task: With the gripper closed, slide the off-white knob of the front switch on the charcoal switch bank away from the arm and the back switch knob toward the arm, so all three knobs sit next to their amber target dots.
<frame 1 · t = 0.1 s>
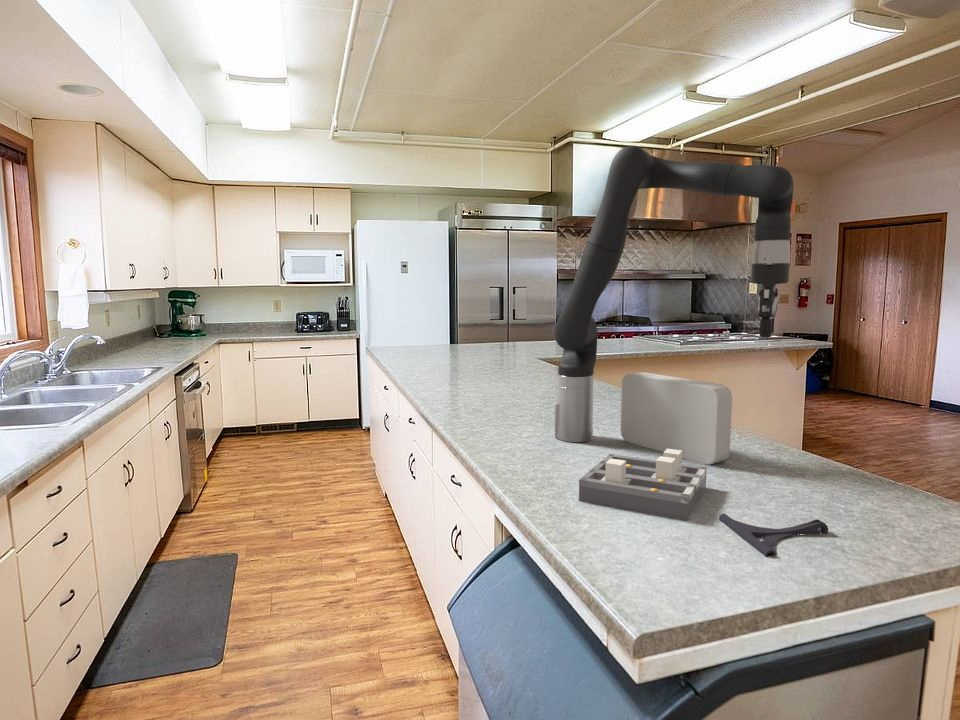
hand: (766, 335, 133), 29 cm above the counter, tool pointing down, fingers open, 8 cm apart
switch middle: (665, 470, 115), point 5 cm above the counter, slide at 8.0 cm
switch front: (615, 472, 114), point 5 cm above the counter, slide at 0.0 cm
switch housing: (644, 493, 118), on the counter
grey block: (670, 451, 147), on the counter
switch back: (672, 461, 120), point 5 cm above the counter, slide at 8.0 cm
bracket: (783, 539, 98), on the counter
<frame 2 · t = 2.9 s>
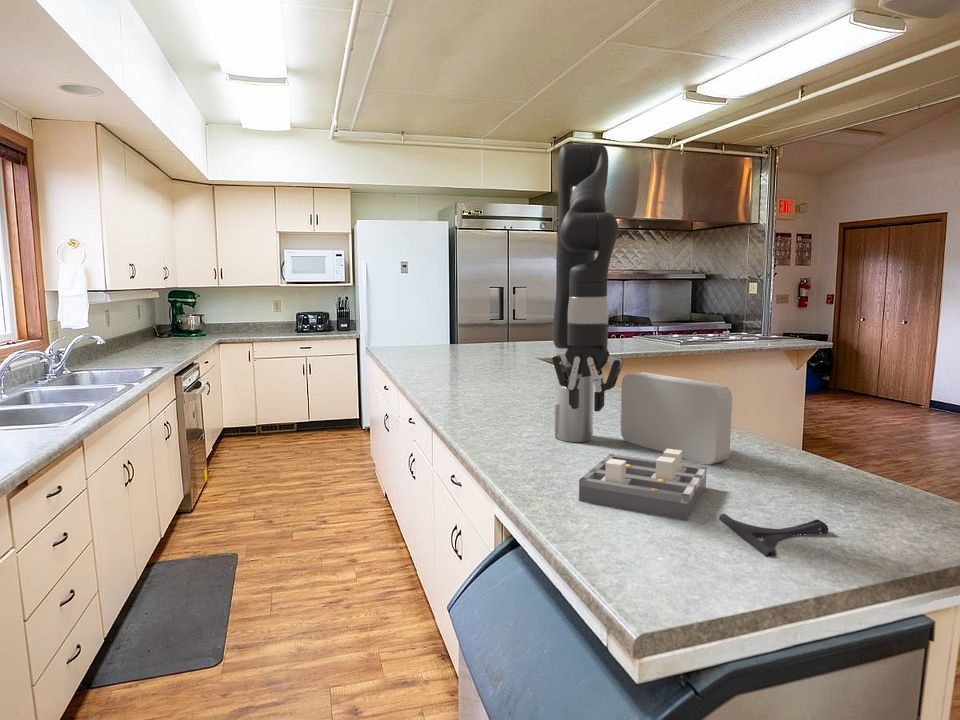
hand: (586, 409, 115), 17 cm above the counter, tool pointing down, fingers open, 4 cm apart
nothing on the counter moved.
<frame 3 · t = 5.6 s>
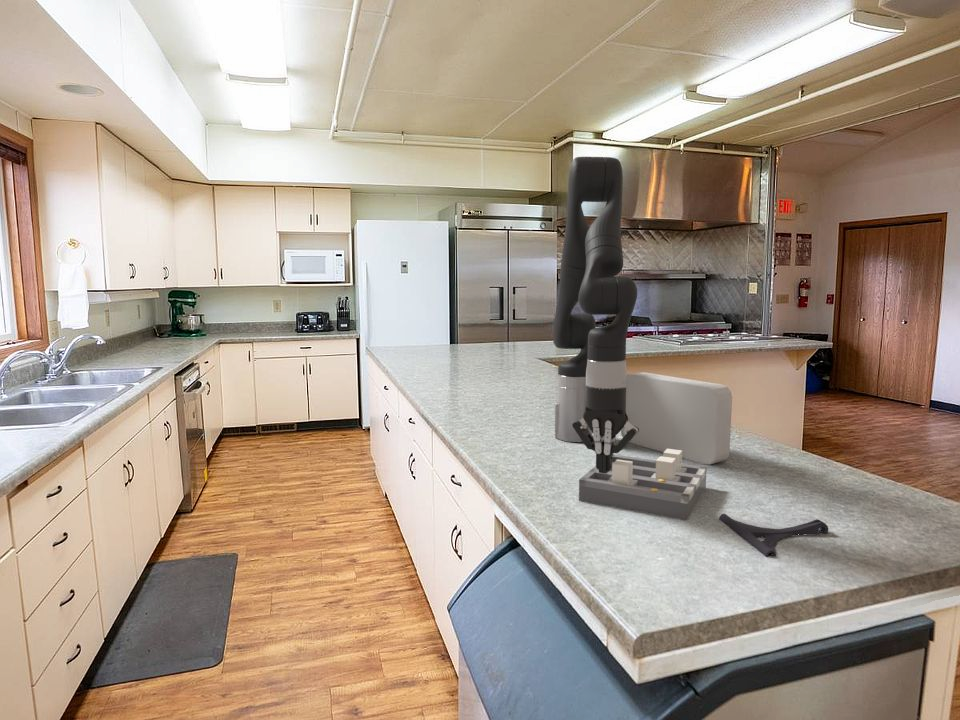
hand: (604, 471, 115), 5 cm above the counter, tool pointing down, fingers closed
switch front: (622, 473, 113), point 5 cm above the counter, slide at 1.3 cm, touching gripper
everything else where it was.
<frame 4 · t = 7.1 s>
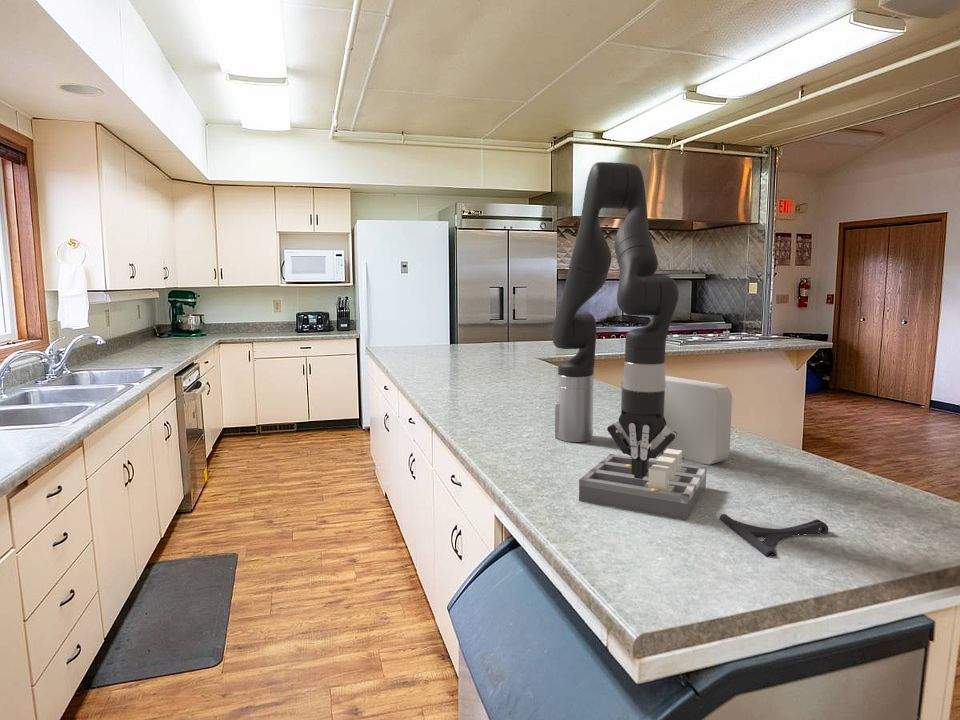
hand: (639, 477, 111), 5 cm above the counter, tool pointing down, fingers closed
switch front: (658, 479, 110), point 5 cm above the counter, slide at 8.1 cm, touching gripper
everything else where it was.
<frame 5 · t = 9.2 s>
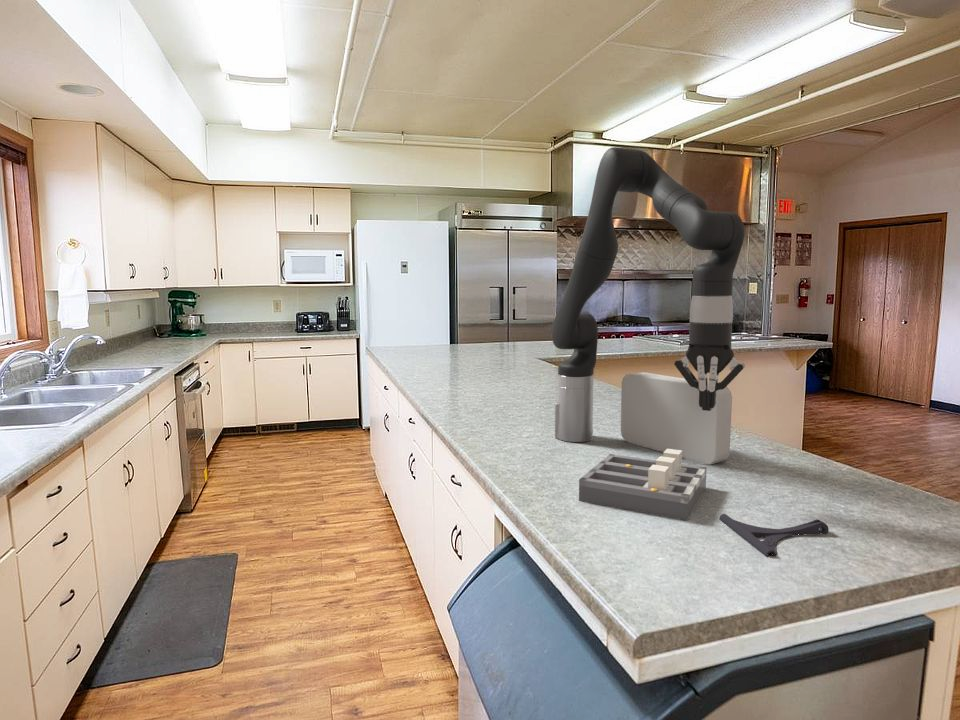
hand: (707, 409, 115), 17 cm above the counter, tool pointing down, fingers closed
switch front: (658, 479, 110), point 5 cm above the counter, slide at 8.1 cm
everything else where it was.
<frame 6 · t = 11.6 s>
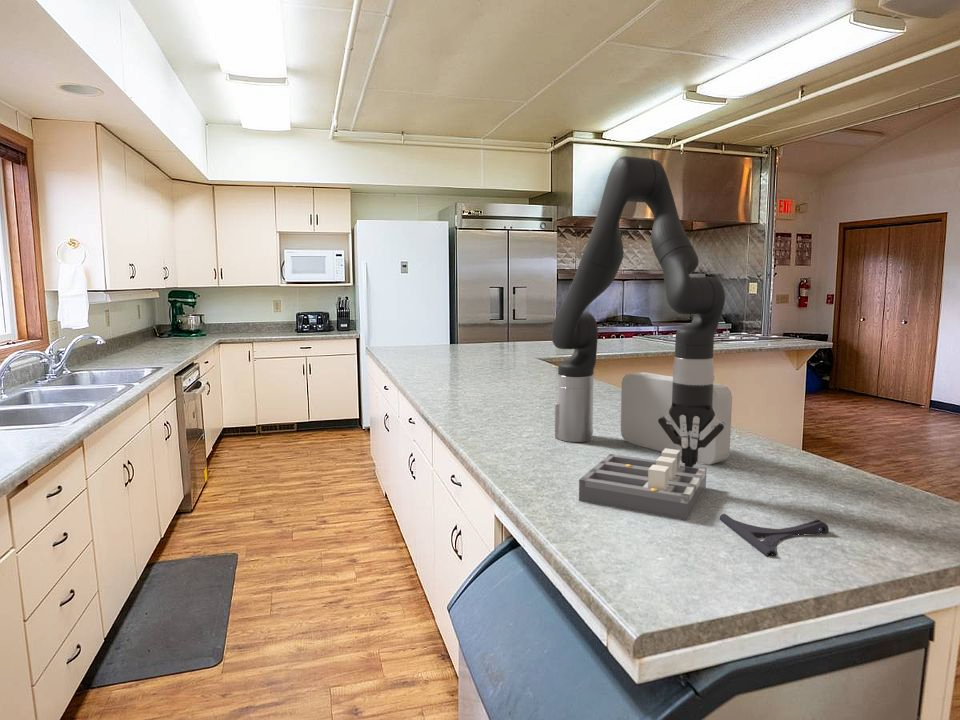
hand: (689, 465, 119), 5 cm above the counter, tool pointing down, fingers closed
switch back: (670, 461, 120), point 5 cm above the counter, slide at 7.6 cm, touching gripper
everything else where it was.
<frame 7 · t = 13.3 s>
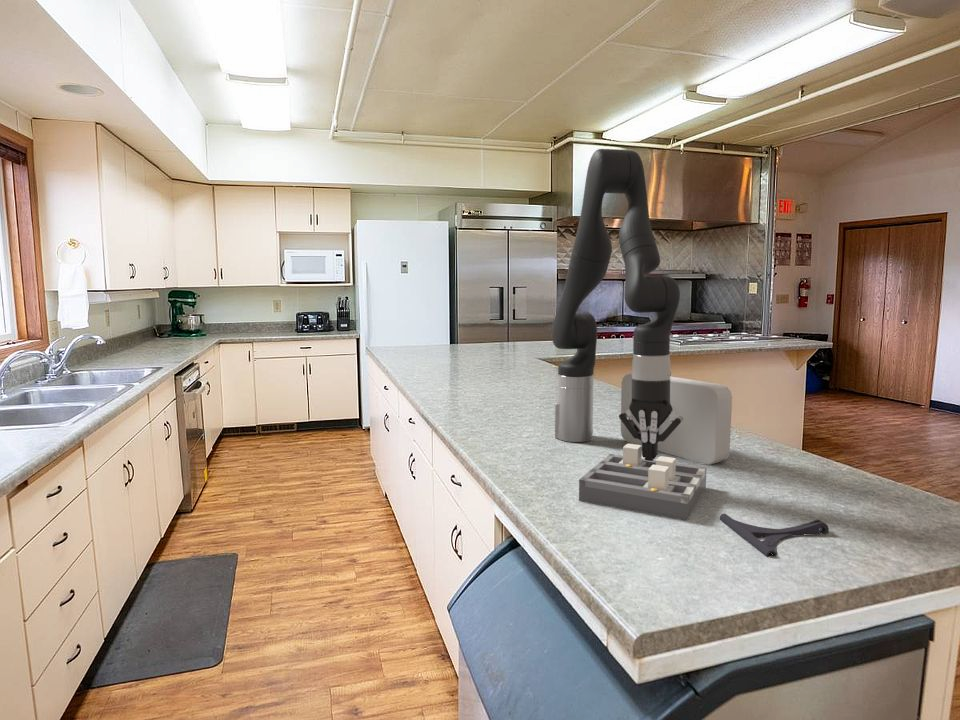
hand: (649, 459, 122), 5 cm above the counter, tool pointing down, fingers closed
switch back: (632, 456, 124), point 5 cm above the counter, slide at -0.2 cm, touching gripper
everything else where it was.
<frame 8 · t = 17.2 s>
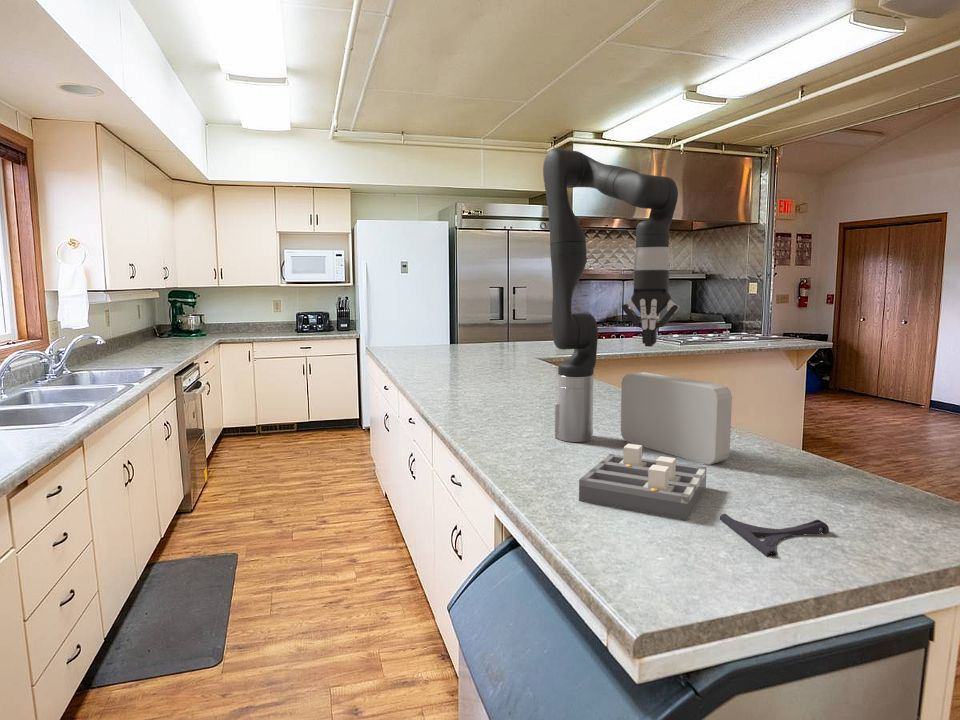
hand: (649, 346, 134), 27 cm above the counter, tool pointing down, fingers closed
switch back: (632, 456, 124), point 5 cm above the counter, slide at -0.1 cm
everything else where it was.
at the end: switch front slide at 8.1 cm; switch middle slide at 8.0 cm; switch back slide at -0.1 cm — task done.
